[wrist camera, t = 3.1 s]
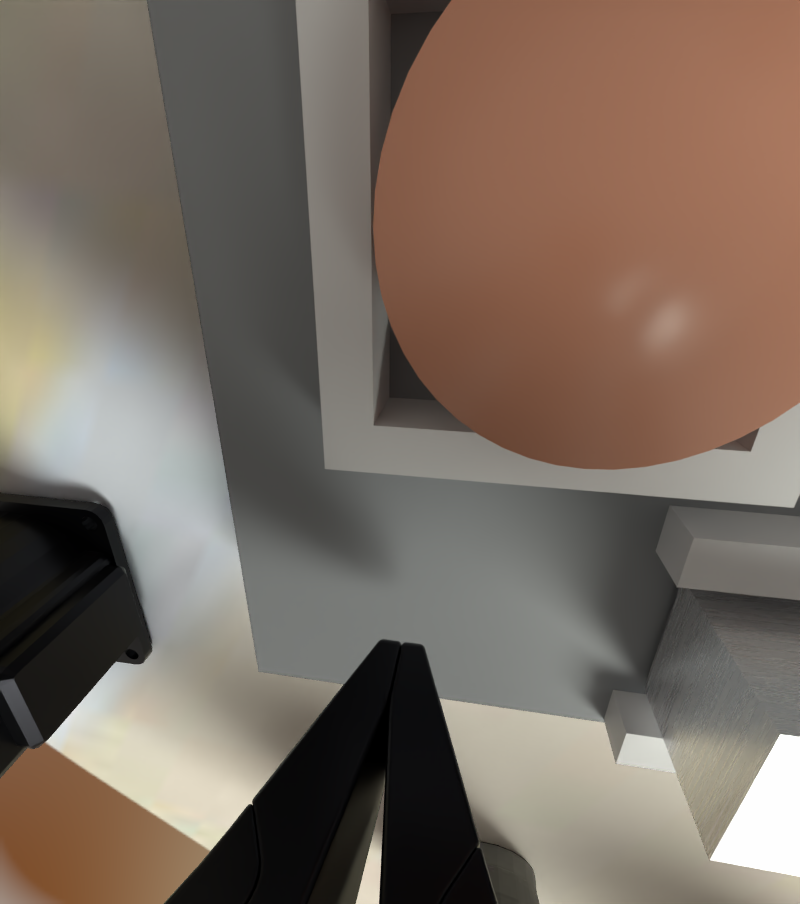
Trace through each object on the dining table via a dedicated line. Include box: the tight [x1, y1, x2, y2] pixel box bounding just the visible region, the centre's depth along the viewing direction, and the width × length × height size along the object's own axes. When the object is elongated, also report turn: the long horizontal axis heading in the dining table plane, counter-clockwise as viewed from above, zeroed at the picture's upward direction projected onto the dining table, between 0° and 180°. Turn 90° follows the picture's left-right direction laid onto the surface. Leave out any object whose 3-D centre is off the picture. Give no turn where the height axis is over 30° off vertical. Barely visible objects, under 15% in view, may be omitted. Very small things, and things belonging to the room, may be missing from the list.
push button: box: [373, 0, 800, 470], centre depth 5 cm, size 4×4×2 cm
